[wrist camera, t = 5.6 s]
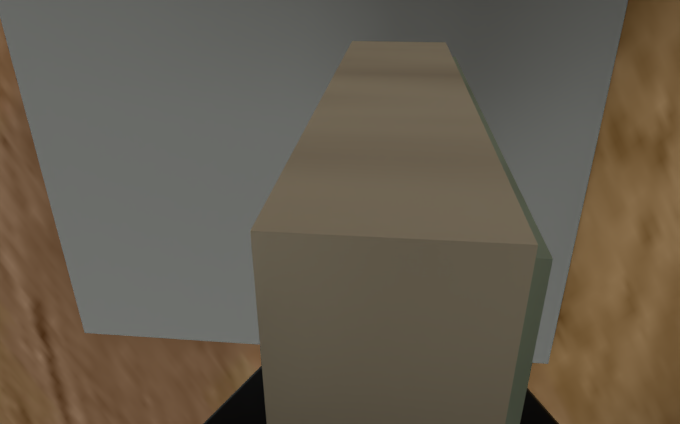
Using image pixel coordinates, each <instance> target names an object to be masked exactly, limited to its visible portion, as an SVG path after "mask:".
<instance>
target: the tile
mask: <svg viewBox="0 0 680 424" xmlns="http://www.w3.org/2000/svg"><path fill="white" fill-rule="evenodd" d="M250 234H251V246H252V258H253V270H254V281H255V293H256V305H257V316H258V328H259V340H260V352H261V363H262V375H263V387H264V398H265V410H266V422H267V424H520V421H521V416H522V411H523V406H524V401H525V396H526V391H527V386H528V381H529V376H530V371H531V366H532V361H533V356H534V351H535V346H536V341H537V336H538V331H539V326H540V321H541V316H542V311H543V306H544V301H545V296H546V291H547V286H548V281H549V276H550V271H551V266H552V261H553V258H552V256H551V254H550V252H549V250H548V248H547V246H546V243H545V241H544V239H543V237H542V235H541V233H540V231H539V229H538V227H537V225H536V223H535V221H534V219H533V217H532V214H531V212H530V210H529V208H528V206H527V204H526V202H525V200H524V198H523V196H522V194H521V192H520V190H519V188H518V186H517V183H516V181H515V179H514V177H513V175H512V173H511V171H510V169H509V167H508V165H507V163H506V161H505V159H504V157H503V154H502V152H501V150H500V148H499V146H498V144H497V142H496V140H495V138H494V136H493V134H492V132H491V130H490V128H489V125H488V123H487V121H486V119H485V117H484V115H483V113H482V111H481V109H480V107H479V105H478V103H477V101H476V99H475V97H474V94H473V92H472V90H471V88H470V86H469V84H468V82H467V80H466V78H465V76H464V74H463V72H462V70H461V68H460V65H459V63H458V61H457V59H456V57H452V55H451V53H450V50H449V48H448V46H447V44H446V42H389V41H352V42H351V44H350V46H349V48H348V50H347V52H346V53H345V55H344V57H343V59H342V61H341V63H340V65H339V67H338V68H337V70H336V72H335V74H334V76H333V78H332V80H331V81H330V83H329V85H328V87H327V89H326V91H325V93H324V94H323V96H322V98H321V100H320V102H319V104H318V106H317V107H316V109H315V111H314V113H313V115H312V117H311V119H310V120H309V122H308V124H307V126H306V128H305V130H304V132H303V134H302V135H301V137H300V139H299V141H298V143H297V145H296V147H295V148H294V150H293V152H292V154H291V156H290V158H289V160H288V161H287V163H286V165H285V167H284V169H283V171H282V173H281V174H280V176H279V178H278V180H277V182H276V184H275V186H274V188H273V189H272V191H271V193H270V195H269V197H268V199H267V201H266V202H265V204H264V206H263V208H262V210H261V212H260V214H259V215H258V217H257V219H256V221H255V223H254V225H253V227H252V228H251V230H250Z"/></svg>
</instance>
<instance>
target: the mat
mask: <svg viewBox="0 0 680 424" xmlns="http://www.w3.org/2000/svg"><path fill="white" fill-rule="evenodd" d="M627 3H628V0H0V18H1V22H2V26H3V29H4V33H5V37H6V40H7V44H8V48H9V52H10V55H11V59H12V63H13V67H14V70H15V74H16V78H17V82H18V85H19V89H20V93H21V96H22V100H23V104H24V108H25V111H26V115H27V119H28V123H29V126H30V130H31V134H32V138H33V141H34V145H35V149H36V153H37V156H38V160H39V164H40V167H41V171H42V175H43V179H44V182H45V186H46V190H47V194H48V197H49V201H50V205H51V209H52V212H53V216H54V220H55V223H56V227H57V231H58V235H59V238H60V242H61V246H62V250H63V253H64V257H65V261H66V265H67V268H68V272H69V276H70V280H71V283H72V287H73V291H74V294H75V298H76V302H77V306H78V309H79V313H80V317H81V321H82V324H83V328H84V332H85V333H96V334H111V335H126V336H141V337H156V338H171V339H186V340H201V341H216V342H231V343H246V344H260V340H259V328H258V316H257V305H256V293H255V281H254V270H253V258H252V246H251V234H250V230H251V228H252V227H253V225H254V223H255V221H256V219H257V217H258V215H259V214H260V212H261V210H262V208H263V206H264V204H265V202H266V201H267V199H268V197H269V195H270V193H271V191H272V189H273V188H274V186H275V184H276V182H277V180H278V178H279V176H280V174H281V173H282V171H283V169H284V167H285V165H286V163H287V161H288V160H289V158H290V156H291V154H292V152H293V150H294V148H295V147H296V145H297V143H298V141H299V139H300V137H301V135H302V134H303V132H304V130H305V128H306V126H307V124H308V122H309V120H310V119H311V117H312V115H313V113H314V111H315V109H316V107H317V106H318V104H319V102H320V100H321V98H322V96H323V94H324V93H325V91H326V89H327V87H328V85H329V83H330V81H331V80H332V78H333V76H334V74H335V72H336V70H337V68H338V67H339V65H340V63H341V61H342V59H343V57H344V55H345V53H346V52H347V50H348V48H349V46H350V44H351V42H352V41H389V42H446V44H447V46H448V48H449V50H450V53H451V55H452V57H456V59H457V61H458V63H459V65H460V68H461V70H462V72H463V74H464V76H465V78H466V80H467V82H468V84H469V86H470V88H471V90H472V92H473V94H474V97H475V99H476V101H477V103H478V105H479V107H480V109H481V111H482V113H483V115H484V117H485V119H486V121H487V123H488V125H489V128H490V130H491V132H492V134H493V136H494V138H495V140H496V142H497V144H498V146H499V148H500V150H501V152H502V154H503V157H504V159H505V161H506V163H507V165H508V167H509V169H510V171H511V173H512V175H513V177H514V179H515V181H516V183H517V186H518V188H519V190H520V192H521V194H522V196H523V198H524V200H525V202H526V204H527V206H528V208H529V210H530V212H531V214H532V217H533V219H534V221H535V223H536V225H537V227H538V229H539V231H540V233H541V235H542V237H543V239H544V241H545V243H546V246H547V248H548V250H549V252H550V254H551V256H552V258H553V261H552V266H551V271H550V276H549V281H548V286H547V291H546V296H545V301H544V306H543V311H542V316H541V321H540V326H539V331H538V336H537V341H536V346H535V351H534V356H533V361H532V363H545V364H548V361H549V357H550V352H551V348H552V343H553V339H554V334H555V330H556V325H557V321H558V316H559V312H560V307H561V302H562V298H563V293H564V289H565V284H566V280H567V275H568V271H569V266H570V262H571V257H572V253H573V248H574V244H575V239H576V234H577V230H578V225H579V221H580V216H581V212H582V207H583V203H584V198H585V194H586V189H587V185H588V180H589V176H590V171H591V166H592V162H593V157H594V153H595V148H596V144H597V139H598V135H599V130H600V126H601V121H602V117H603V112H604V108H605V103H606V98H607V94H608V89H609V85H610V80H611V76H612V71H613V67H614V62H615V58H616V53H617V49H618V44H619V40H620V35H621V30H622V26H623V21H624V17H625V12H626V8H627Z"/></svg>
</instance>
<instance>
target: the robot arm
mask: <svg viewBox="0 0 680 424" xmlns="http://www.w3.org/2000/svg"><path fill="white" fill-rule="evenodd" d="M204 424H267V422H266V410H265V398H264V387H263V375H262V366H261V367H260V368H259V369H258V370H257V371H256V372H255V373H254V374H253V375H252V376H251V377H250V378H249V379H248V380H247V381H246V382H245V383H244V384H243V385H242V386H241V387H240V388H239V389H238V390H237V391H236V392H235V393H234V394H233V395H232V396H231V397H230V398H229V399H228V400H227V401H226V402H225V403H224V404H223V405H222V406H221V407H220V408H219V409H218V410H217V411H216V412H215V413H214V414H213V415H212V416H211V417H210V418H209V419H208V420H207V421H206V422H205V423H204ZM520 424H559V423H558V422H557V421H556V420H555V419H554V418H553V417H552V415H551V414H550V413H549V412H548V411H547V410H546V409H545V407H544V406H543V405H542V404H541V403H540V402H539V401H538V400H537V398H536V397H535V396H534V395H533V394H532V393H531V392H530V390H529V389H528V388H527V391H526V396H525V401H524V406H523V411H522V416H521V421H520Z"/></svg>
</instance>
